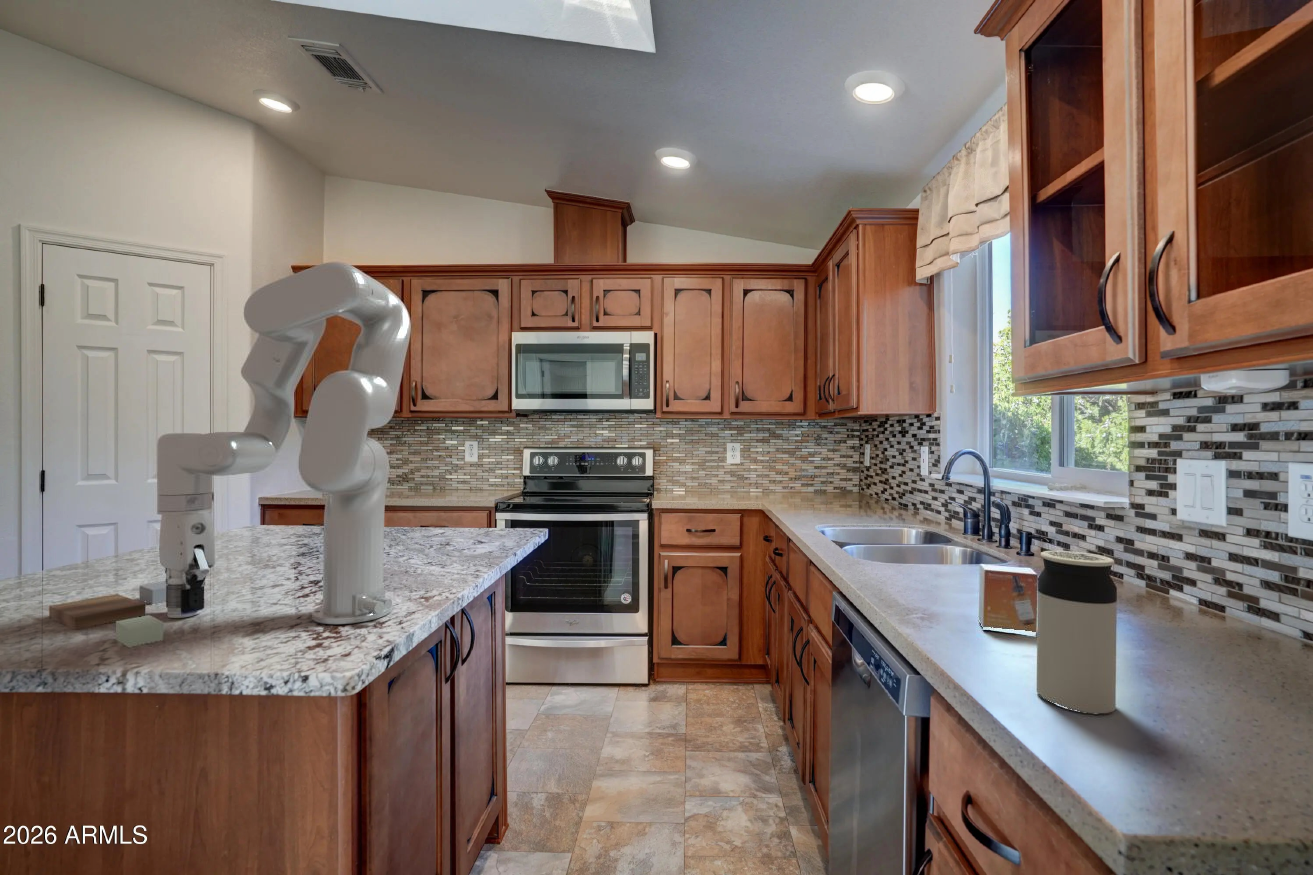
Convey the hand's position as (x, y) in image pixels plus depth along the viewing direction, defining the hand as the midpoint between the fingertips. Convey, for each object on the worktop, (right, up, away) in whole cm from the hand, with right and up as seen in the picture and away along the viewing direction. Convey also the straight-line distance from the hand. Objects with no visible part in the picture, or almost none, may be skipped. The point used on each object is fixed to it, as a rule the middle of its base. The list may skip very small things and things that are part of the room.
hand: (185, 607), depth 103 cm
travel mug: (+134, -3, -30) cm, 137 cm away
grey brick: (-12, -1, +9) cm, 15 cm away
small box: (+142, -3, -2) cm, 142 cm away
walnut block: (-14, -1, -1) cm, 14 cm away
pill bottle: (0, -1, 0) cm, 1 cm away
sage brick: (+3, -2, -12) cm, 13 cm away
